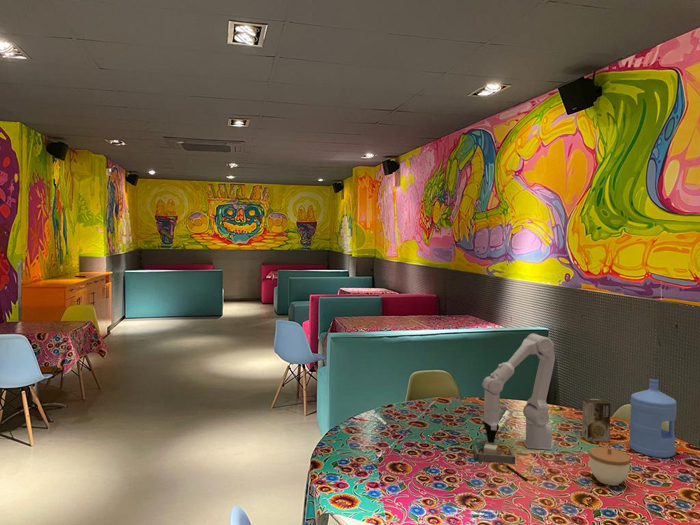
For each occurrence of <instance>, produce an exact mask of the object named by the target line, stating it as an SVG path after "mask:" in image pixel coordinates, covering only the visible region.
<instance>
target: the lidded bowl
mask: <svg viewBox="0 0 700 525" xmlns="http://www.w3.org/2000/svg"><path fill="white" fill-rule="evenodd" d="M631 461H632V460H631V457H630V455H629V454H627V453H626V452H624V451H621V450H620V449H619V450H618V449H615V448H611V447H603V446H596V447H591V448H590V449H589V450H588V463H589V469H590V471H591V473H592V474H593V476H594V477H596V480H597V481H598V482H599V481H600V482H599V483H602V484H604V485H607V484H608V485H609V486H619V484H620V485H621V483H622V482H624V481H625V480H626V479H627V478H628V476H629V473H630V469H631ZM608 485H607V486H608Z"/></svg>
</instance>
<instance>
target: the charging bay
mask: <svg viewBox="0 0 700 525" xmlns="http://www.w3.org/2000/svg"><path fill="white" fill-rule="evenodd" d="M473 452H474V455H475V456H474V457H475V459H476V460H475V461H476V462H487V463H488V462H490V463H502V464H512V465H513V464H516V456H515V454H514V451H513V449H512V447H508V454H507V455H505V454H502V455H496V454H484V452H481V453H480V452H479V449H478V445H477V444H474V446H473Z"/></svg>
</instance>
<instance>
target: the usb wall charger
mask: <svg viewBox="0 0 700 525" xmlns="http://www.w3.org/2000/svg"><path fill="white" fill-rule="evenodd" d="M483 454H496V455H505V452H504V451H503V450H499V446H498V445H496V444H495V445H494V444H491V443H484V446H483Z"/></svg>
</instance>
